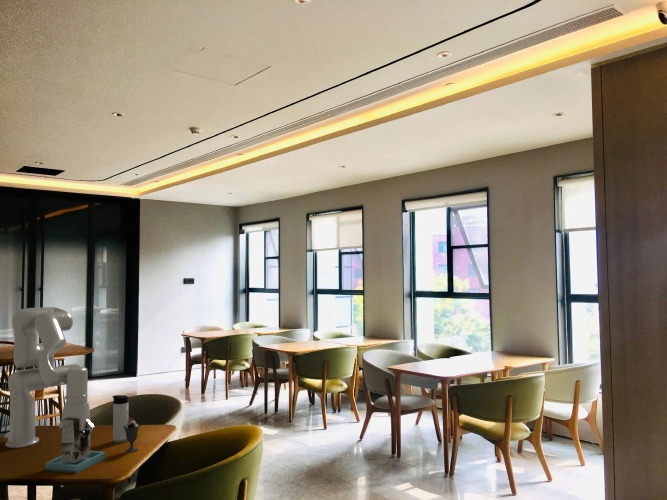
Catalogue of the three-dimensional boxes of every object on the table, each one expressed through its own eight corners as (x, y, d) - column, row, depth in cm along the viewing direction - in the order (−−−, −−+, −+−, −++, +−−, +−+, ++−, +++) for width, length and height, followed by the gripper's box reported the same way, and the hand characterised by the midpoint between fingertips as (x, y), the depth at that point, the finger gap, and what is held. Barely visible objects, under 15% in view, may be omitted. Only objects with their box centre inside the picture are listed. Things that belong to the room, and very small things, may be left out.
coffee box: (75, 463, 206) (76, 420, 207) (60, 461, 207) (61, 419, 208) (90, 455, 215) (91, 413, 216) (76, 453, 216) (77, 412, 217)
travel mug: (110, 440, 240) (110, 394, 240) (125, 437, 244) (125, 392, 245) (115, 444, 235) (115, 397, 236) (130, 440, 239) (130, 395, 240)
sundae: (130, 447, 231) (130, 411, 231) (143, 449, 228) (143, 412, 229) (119, 452, 224) (119, 415, 225) (132, 454, 222) (132, 416, 223)
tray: (45, 469, 205) (45, 462, 205) (76, 455, 221) (76, 449, 221) (76, 473, 201) (76, 466, 202) (105, 458, 217) (105, 452, 217)
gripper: (51, 400, 211) (50, 447, 210) (88, 403, 206) (88, 451, 205) (65, 396, 218) (64, 441, 217) (102, 398, 213) (101, 444, 213)
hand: (76, 445), depth 211 cm, fingers closed on coffee box, 6 cm apart
